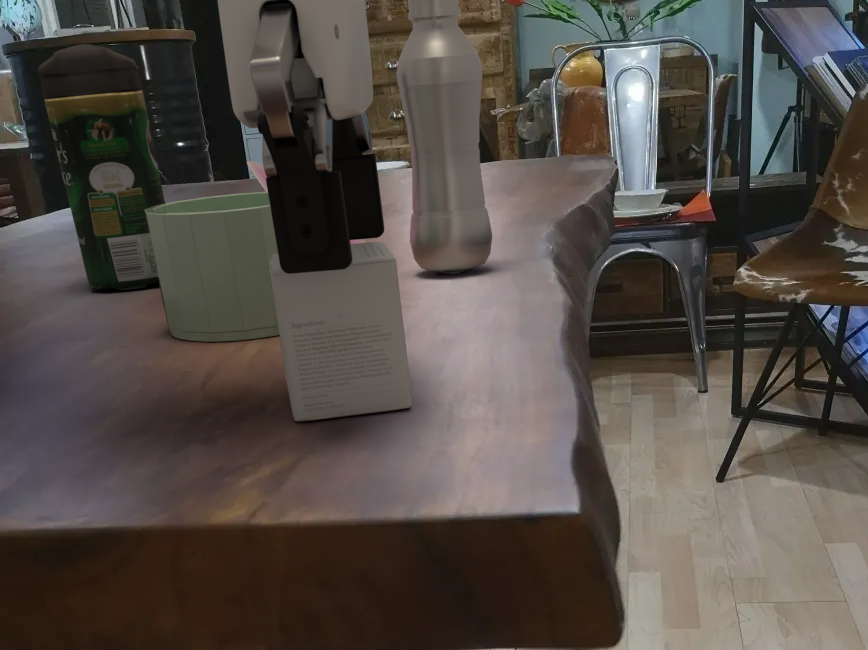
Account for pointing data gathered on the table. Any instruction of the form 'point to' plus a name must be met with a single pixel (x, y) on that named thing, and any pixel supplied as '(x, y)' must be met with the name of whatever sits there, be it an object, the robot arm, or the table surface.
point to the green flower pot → (215, 266)
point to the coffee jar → (105, 161)
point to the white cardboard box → (343, 336)
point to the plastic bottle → (444, 140)
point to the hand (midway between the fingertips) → (337, 253)
